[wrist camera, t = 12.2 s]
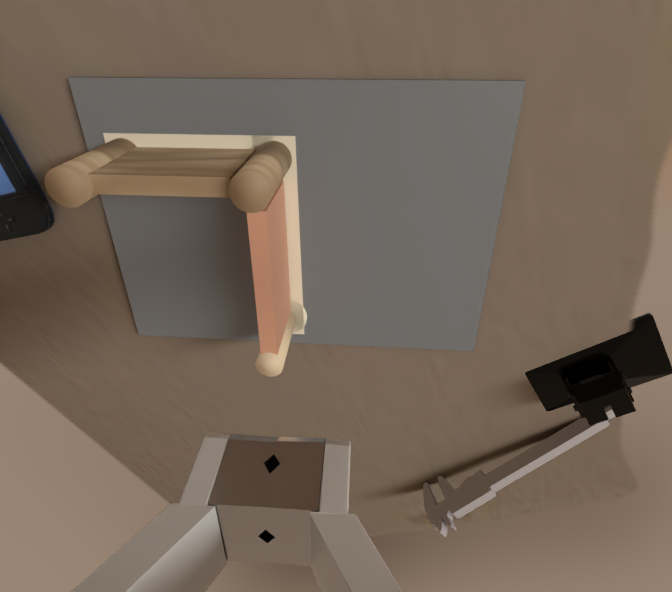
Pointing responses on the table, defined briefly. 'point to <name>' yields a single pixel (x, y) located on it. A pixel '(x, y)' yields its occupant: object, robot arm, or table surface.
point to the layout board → (317, 203)
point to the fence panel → (271, 283)
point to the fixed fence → (172, 173)
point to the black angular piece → (604, 373)
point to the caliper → (502, 474)
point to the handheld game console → (19, 193)
